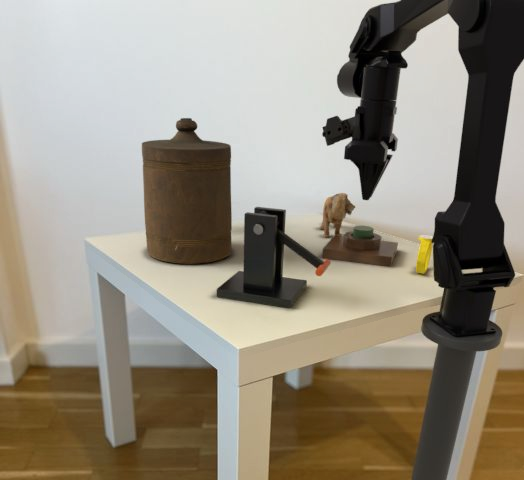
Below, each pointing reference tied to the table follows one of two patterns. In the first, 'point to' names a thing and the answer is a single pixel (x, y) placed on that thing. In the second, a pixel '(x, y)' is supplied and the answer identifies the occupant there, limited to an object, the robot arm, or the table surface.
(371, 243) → the button box
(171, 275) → the table surface
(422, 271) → the watch
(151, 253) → the wooden container
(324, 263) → the lever
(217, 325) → the table surface
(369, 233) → the button
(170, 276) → the table surface
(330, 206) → the lion figurine
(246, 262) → the bracket
